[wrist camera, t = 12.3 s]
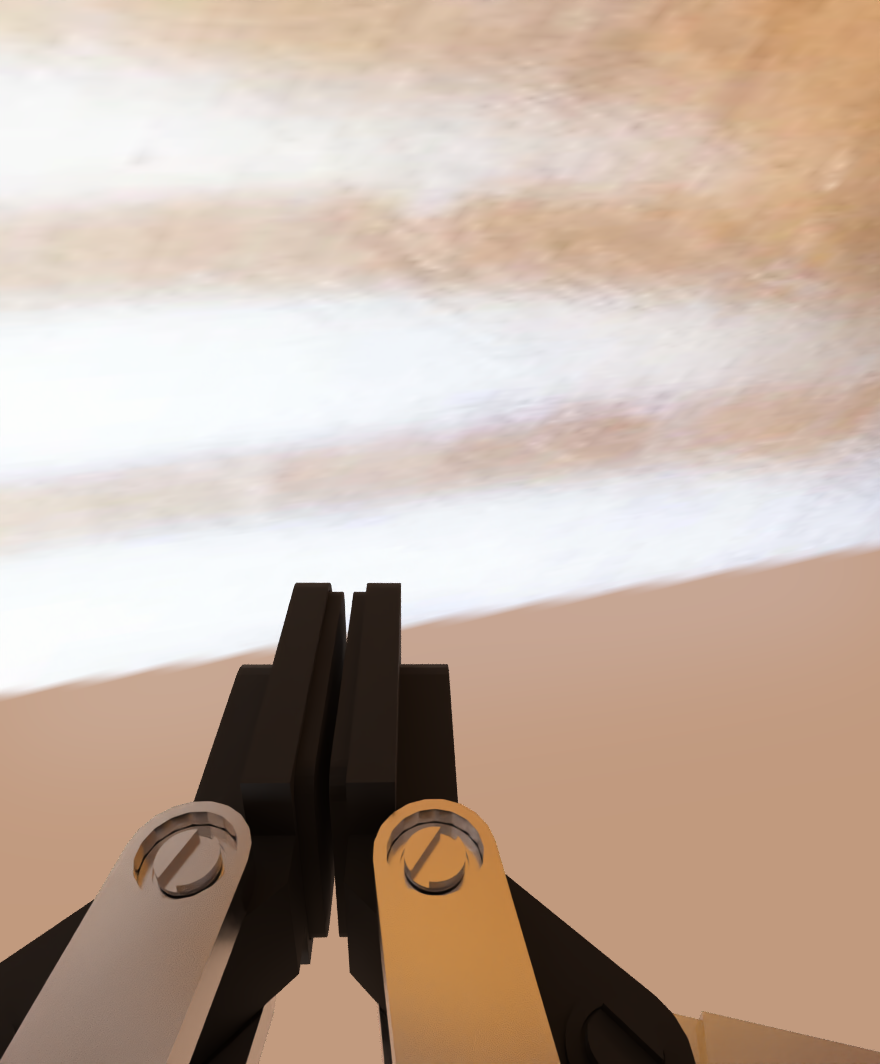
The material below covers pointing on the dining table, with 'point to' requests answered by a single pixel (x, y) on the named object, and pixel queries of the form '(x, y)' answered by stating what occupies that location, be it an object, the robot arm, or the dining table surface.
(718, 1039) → the robot arm
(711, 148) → the dining table surface
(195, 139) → the dining table surface
